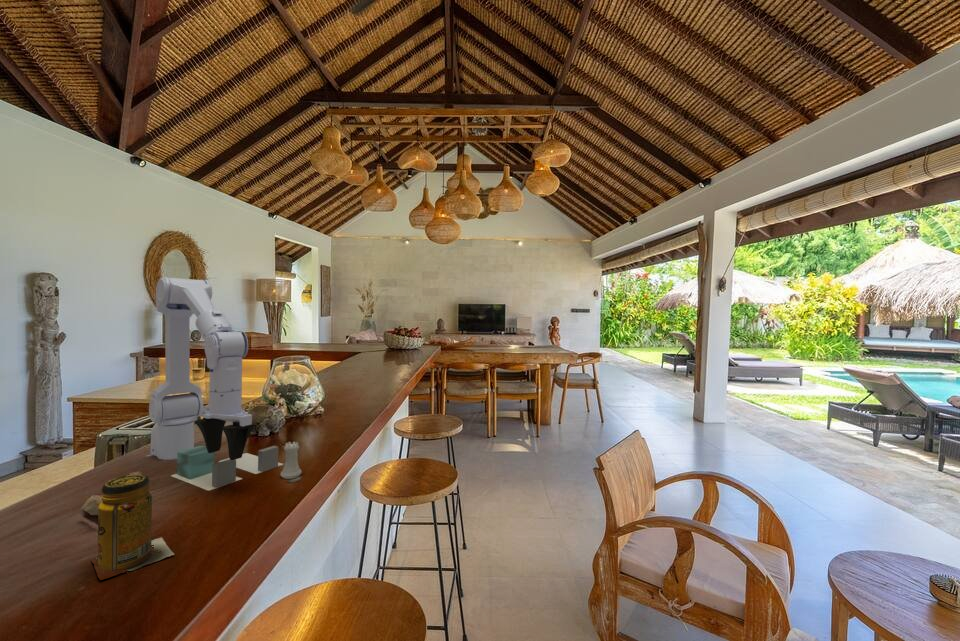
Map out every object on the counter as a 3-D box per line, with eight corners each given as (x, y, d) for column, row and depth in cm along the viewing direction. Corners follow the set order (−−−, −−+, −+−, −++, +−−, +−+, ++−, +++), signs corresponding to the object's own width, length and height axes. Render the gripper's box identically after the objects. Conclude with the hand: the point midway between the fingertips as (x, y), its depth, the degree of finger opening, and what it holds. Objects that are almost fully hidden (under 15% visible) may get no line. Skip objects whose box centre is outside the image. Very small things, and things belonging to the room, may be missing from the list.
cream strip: (170, 479, 89) (170, 454, 89) (204, 468, 96) (205, 446, 96) (208, 494, 83) (209, 468, 83) (242, 482, 89) (243, 457, 89)
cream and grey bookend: (217, 464, 98) (218, 442, 98) (246, 456, 105) (246, 435, 104) (255, 477, 92) (256, 453, 92) (283, 467, 98) (284, 445, 98)
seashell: (77, 536, 68) (77, 504, 68) (90, 497, 81) (90, 471, 81) (141, 521, 73) (141, 491, 72) (144, 487, 86) (144, 462, 86)
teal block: (176, 474, 90) (177, 451, 90) (201, 467, 95) (201, 445, 94) (189, 479, 88) (190, 456, 88) (214, 471, 92) (214, 449, 92)
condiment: (90, 561, 61) (91, 480, 61) (161, 538, 68) (162, 465, 67) (99, 583, 56) (100, 495, 56) (174, 556, 63) (175, 477, 63)
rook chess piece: (293, 484, 89) (294, 447, 89) (275, 482, 90) (275, 445, 90) (306, 476, 93) (307, 441, 93) (288, 474, 94) (289, 439, 94)
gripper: (185, 388, 86) (184, 454, 86) (227, 397, 79) (226, 468, 79) (219, 383, 92) (218, 445, 92) (262, 391, 85) (260, 457, 86)
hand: (224, 455), depth 86 cm, fingers open, 7 cm apart
